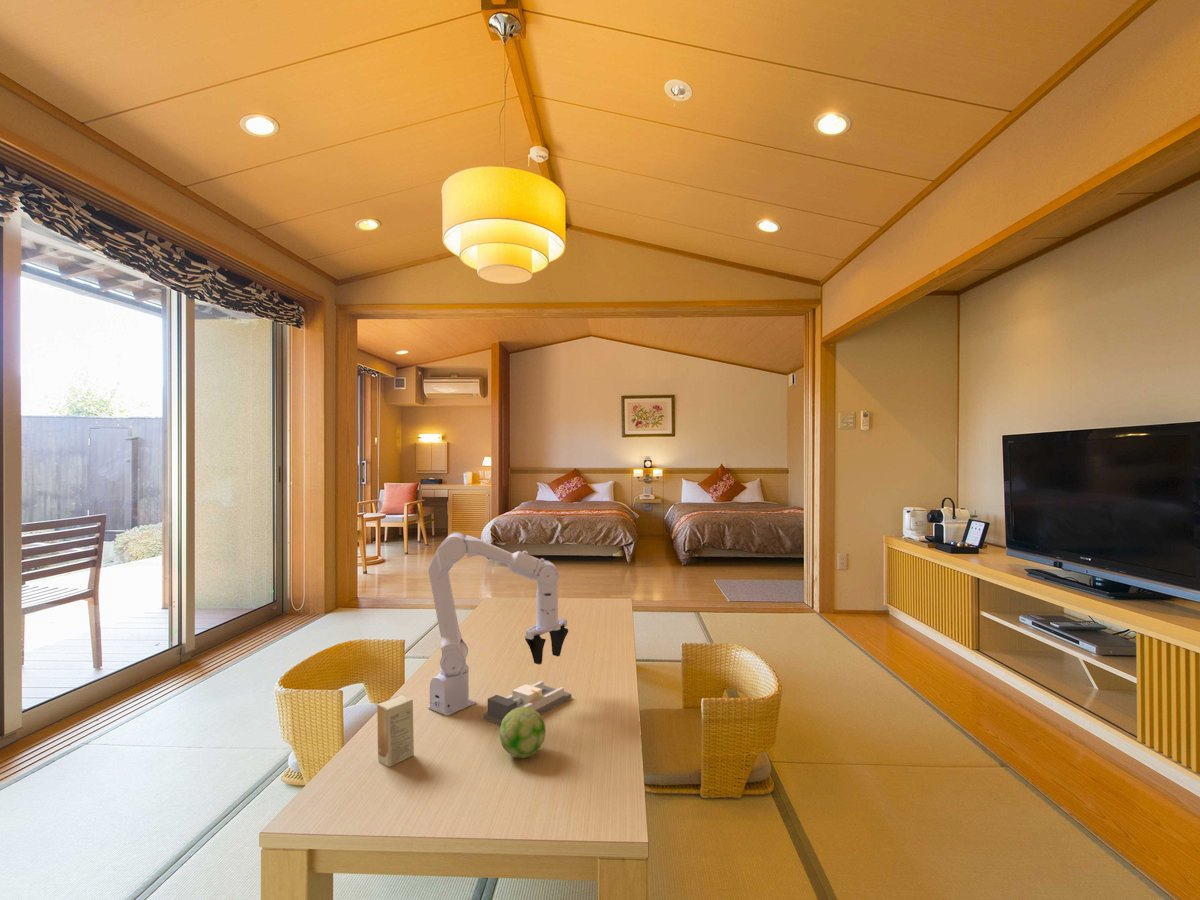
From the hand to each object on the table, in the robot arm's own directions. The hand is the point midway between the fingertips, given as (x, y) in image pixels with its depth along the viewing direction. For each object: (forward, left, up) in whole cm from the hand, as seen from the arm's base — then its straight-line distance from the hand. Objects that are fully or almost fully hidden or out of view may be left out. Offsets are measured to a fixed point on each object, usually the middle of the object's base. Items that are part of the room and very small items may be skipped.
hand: (547, 659), depth 154 cm
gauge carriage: (-9, -1, -9) cm, 13 cm away
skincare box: (-42, +6, -11) cm, 44 cm away
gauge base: (-7, 0, -10) cm, 13 cm away
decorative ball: (-25, -15, -11) cm, 31 cm away
